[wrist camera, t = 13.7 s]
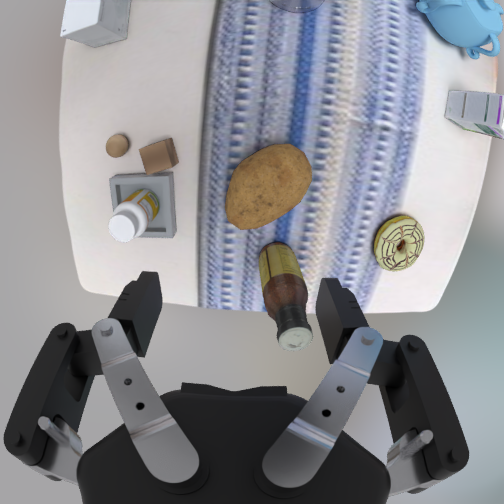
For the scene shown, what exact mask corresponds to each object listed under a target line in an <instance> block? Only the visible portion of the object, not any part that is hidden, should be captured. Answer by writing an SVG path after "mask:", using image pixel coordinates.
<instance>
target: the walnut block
mask: <svg viewBox="0 0 504 504" xmlns="http://www.w3.org/2000/svg"><path fill="white" fill-rule="evenodd" d="M139 152H140V155H141V158H142V161H143V165H144V168H145V171H146V174H147V175H149V174H152V173H156V172H159V171H162V170H165V169H168V168H172V167H173V166H175V165H176V164H177V163H178V162H179V161H178V158H177V154H176V151H175V147H174V144H173V140H172V138H169V139H166V140H163V141H160V142H157V143H154V144H152V145H149V146H146V147H144V148H141V149H139Z"/></svg>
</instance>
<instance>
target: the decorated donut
mask: <svg viewBox="0 0 504 504" xmlns="http://www.w3.org/2000/svg"><path fill="white" fill-rule="evenodd" d="M401 240H402V244H401V246H400V247H399V248H397V246H396V245H397V244H398V243H399V242H400V241H401ZM423 245H424V232H423V229H422V226H421V225H420V224H419V223H418V222H417V221H416V220H414V219H413V218H411V217H408V216H399V217H396V218H393V219H391V220H389V221H387V222H386V223H385V224H384V225H383V226H382V227H381V228H380V229H379V231H378V233H377V235H376V238H375V242H374V253H375V256H376V260H377V261H378V263H379V266H380V267H381V268H383V269H385V270H388V271H400V270H404V269H406V268H408V267H410V266H412V265H413V264H414V263H415V261H416V260H417V258H418V257H419V255H420V253H421V251H422V249H423Z"/></svg>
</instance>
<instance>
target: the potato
mask: <svg viewBox="0 0 504 504" xmlns="http://www.w3.org/2000/svg"><path fill="white" fill-rule="evenodd" d="M311 181H312V171H311V165H310V163H309V161H308V159H307V157H306V155H305V153H304V152H302V151H301V150H299V149H298V148H296V147H294V146H293V145H291V144H273V145H271V146H268V147H266V148H263V149H261V150H259V151H258V152H256V153H254V154H253V155H251V156H249V157H248V158H246V159H245V160H243V161H242V162H241V163H240V164H239V165H238V166H237V168H236V169H235V170H234V171H233V174H232V178H231V181H230V184H229V188H228V191H227V195H226V202H225V210H226V214H227V218H228V221H229V222H230V223H232V224H233V225H235V226H236V227H237V228H239V229H240V230H244V229H256V228H259V227H262V226H264V225H266V224H268V223H270V222H272V221H274V220H276V219H277V218H279V217H281V216H282V215H284V214H285V213H287V212H288V211H290V210H291V209H293V208H294V207H295V206H296V205H297V204H298V203H300V202H301V200H302V198H303V197H304V195H305V193H306V192H307V189H308V187H309V185H310V183H311Z"/></svg>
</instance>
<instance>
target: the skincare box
mask: <svg viewBox="0 0 504 504" xmlns="http://www.w3.org/2000/svg"><path fill="white" fill-rule="evenodd" d="M130 3H131V0H67V1H66V5H65V10H64V16H63V22H62V28H61V34H60V37H63V38H67V39H70V40H74V41H77V42H80V43H83V44H86V45H89V46H92V47H98V46H101V45H105V44H109V43H113V42H116V41H120V40H124V39H126V38H127V28H128V19H129V11H130Z"/></svg>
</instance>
